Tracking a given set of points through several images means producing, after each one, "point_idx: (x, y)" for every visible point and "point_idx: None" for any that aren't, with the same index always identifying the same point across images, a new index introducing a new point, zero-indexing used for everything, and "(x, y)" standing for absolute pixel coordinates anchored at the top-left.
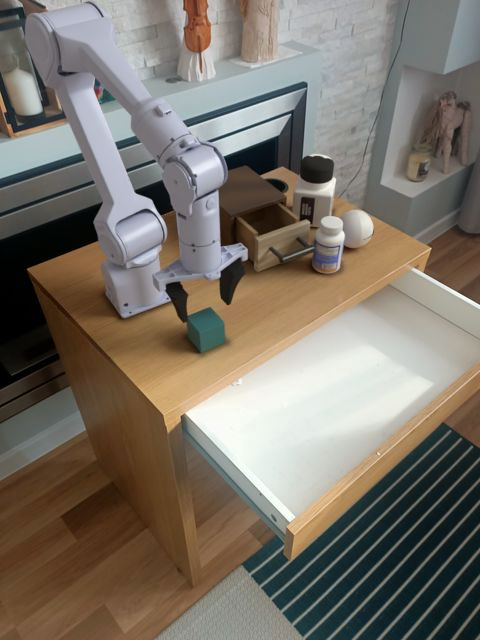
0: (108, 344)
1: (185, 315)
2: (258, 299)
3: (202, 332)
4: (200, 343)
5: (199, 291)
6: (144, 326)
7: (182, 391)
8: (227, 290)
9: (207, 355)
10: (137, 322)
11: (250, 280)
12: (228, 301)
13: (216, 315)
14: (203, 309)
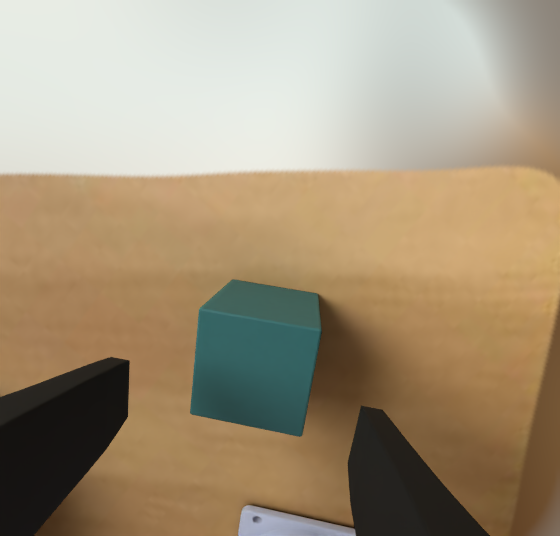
0: (498, 495)
1: (395, 446)
2: (48, 351)
3: (307, 325)
4: (318, 308)
5: (166, 480)
6: None
7: (475, 201)
8: (35, 436)
9: (308, 273)
10: None
11: None
12: (104, 370)
13: (200, 361)
14: (221, 420)
